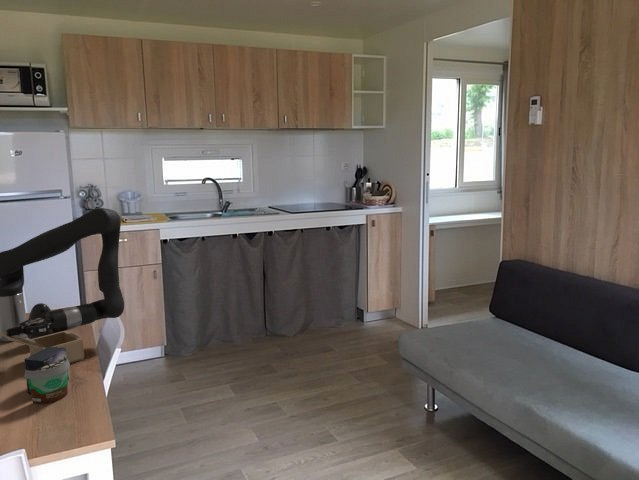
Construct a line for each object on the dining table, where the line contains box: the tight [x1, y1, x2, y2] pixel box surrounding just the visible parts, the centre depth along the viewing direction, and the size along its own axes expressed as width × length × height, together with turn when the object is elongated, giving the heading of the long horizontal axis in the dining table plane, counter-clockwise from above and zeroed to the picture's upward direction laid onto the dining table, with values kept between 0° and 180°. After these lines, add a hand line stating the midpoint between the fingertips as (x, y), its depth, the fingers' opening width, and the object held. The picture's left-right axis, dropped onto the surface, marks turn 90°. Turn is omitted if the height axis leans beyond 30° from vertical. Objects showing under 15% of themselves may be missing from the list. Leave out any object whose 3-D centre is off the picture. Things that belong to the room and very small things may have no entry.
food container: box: [23, 357, 71, 405], centre depth 148 cm, size 12×6×10 cm, turn 148°
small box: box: [23, 346, 70, 394], centre depth 156 cm, size 11×6×10 cm, turn 168°
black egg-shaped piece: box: [26, 302, 52, 340], centre depth 192 cm, size 10×10×15 cm
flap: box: [0, 331, 39, 349], centre depth 169 cm, size 11×1×9 cm
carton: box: [28, 330, 85, 365], centre depth 178 cm, size 15×13×7 cm
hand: (7, 333), depth 166 cm, fingers closed
